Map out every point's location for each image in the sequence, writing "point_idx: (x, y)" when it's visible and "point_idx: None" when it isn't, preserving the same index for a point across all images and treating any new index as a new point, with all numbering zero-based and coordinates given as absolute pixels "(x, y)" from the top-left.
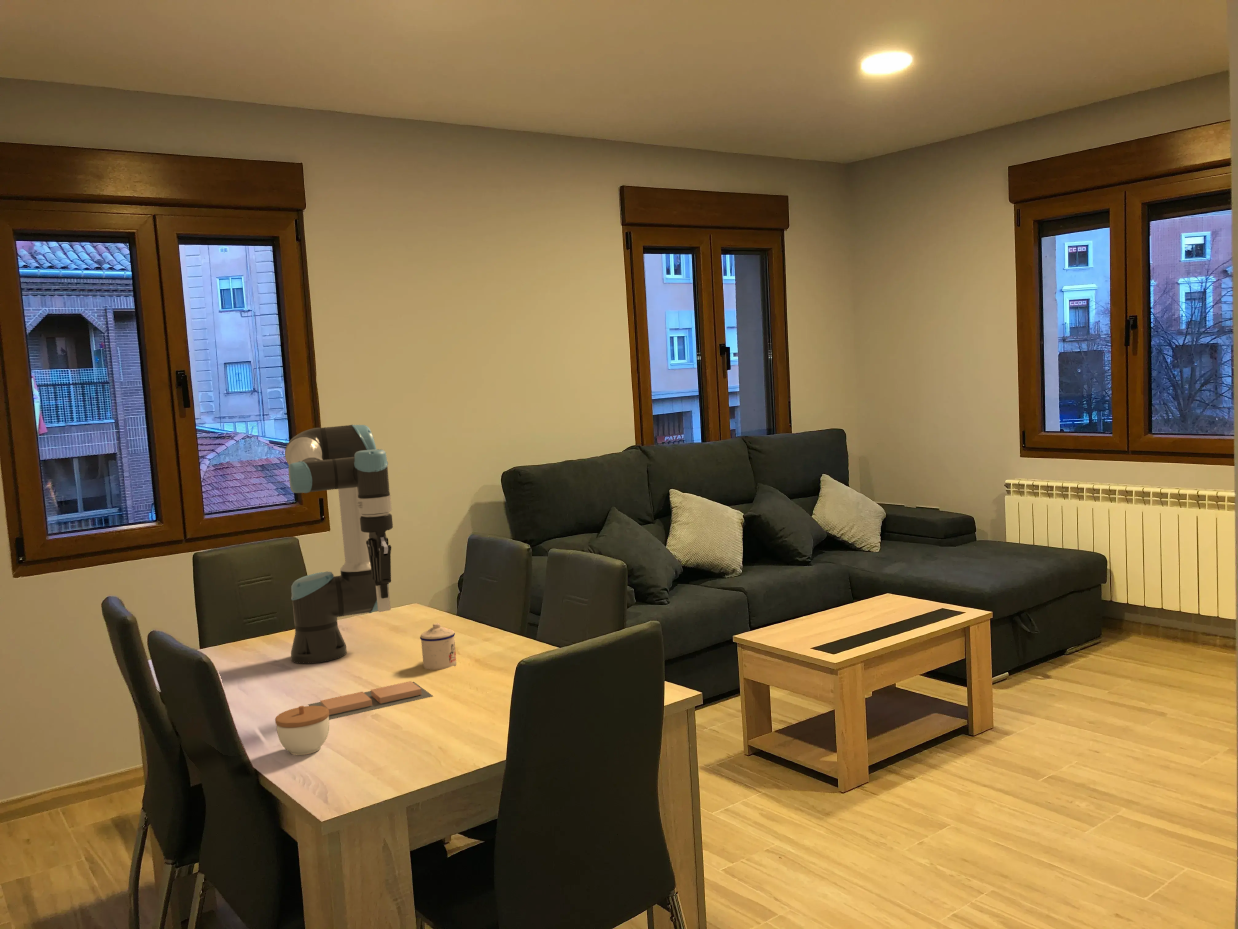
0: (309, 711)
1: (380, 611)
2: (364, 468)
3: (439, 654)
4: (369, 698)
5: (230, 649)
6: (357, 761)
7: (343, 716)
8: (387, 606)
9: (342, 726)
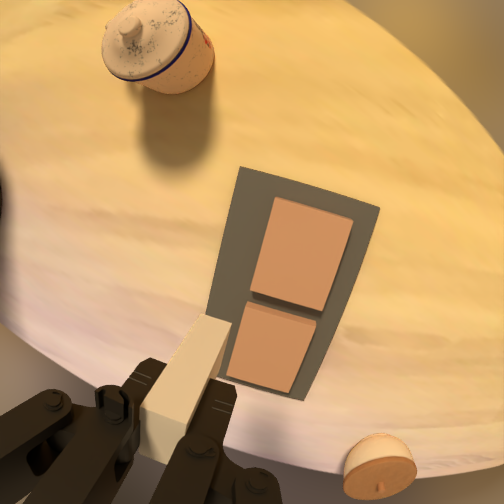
0: (385, 478)
1: (220, 366)
2: None
3: (195, 62)
4: (304, 325)
5: None
6: (465, 422)
7: (315, 375)
8: (223, 347)
9: (345, 388)
